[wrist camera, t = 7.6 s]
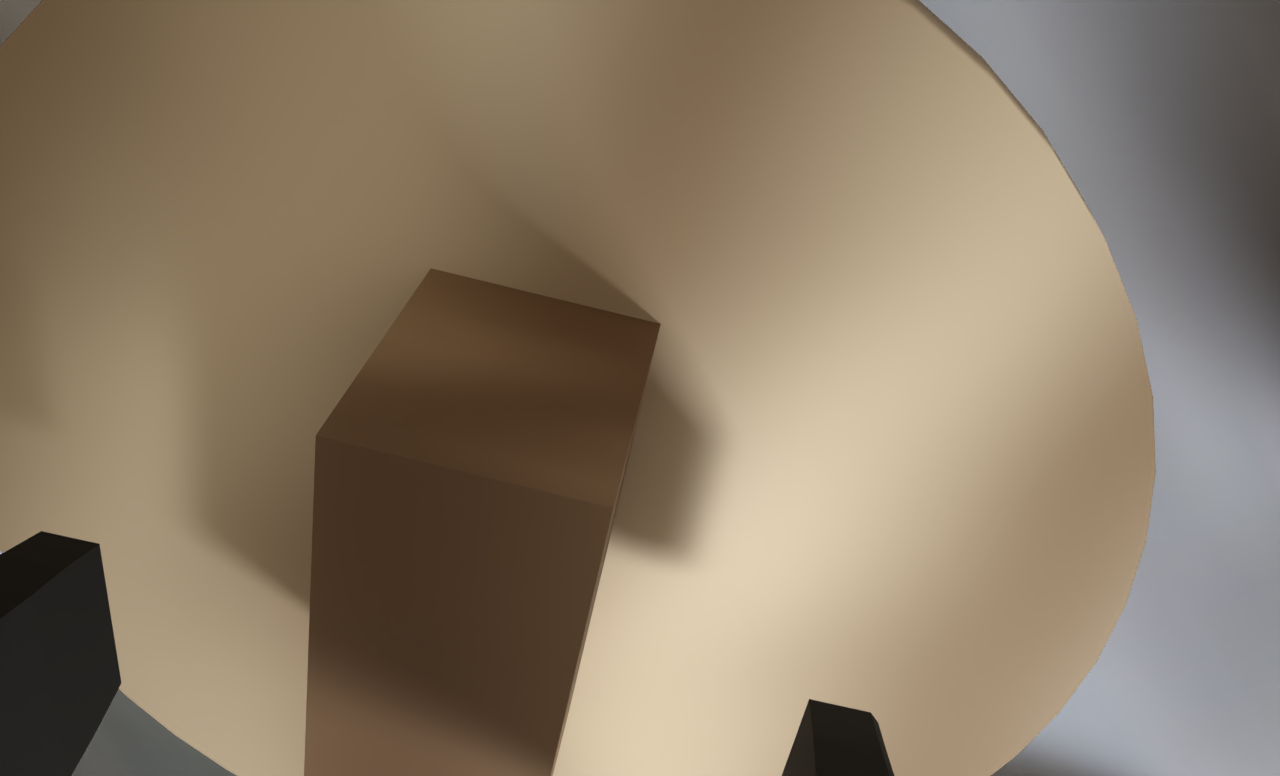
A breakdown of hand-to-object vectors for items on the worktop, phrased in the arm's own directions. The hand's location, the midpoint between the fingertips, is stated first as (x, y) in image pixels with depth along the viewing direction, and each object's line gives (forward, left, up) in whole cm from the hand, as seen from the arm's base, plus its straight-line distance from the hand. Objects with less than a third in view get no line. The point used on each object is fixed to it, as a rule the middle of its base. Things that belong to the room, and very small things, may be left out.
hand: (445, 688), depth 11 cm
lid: (0, 0, -3) cm, 3 cm away
